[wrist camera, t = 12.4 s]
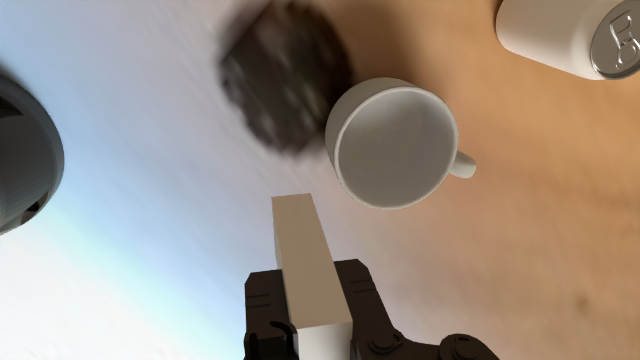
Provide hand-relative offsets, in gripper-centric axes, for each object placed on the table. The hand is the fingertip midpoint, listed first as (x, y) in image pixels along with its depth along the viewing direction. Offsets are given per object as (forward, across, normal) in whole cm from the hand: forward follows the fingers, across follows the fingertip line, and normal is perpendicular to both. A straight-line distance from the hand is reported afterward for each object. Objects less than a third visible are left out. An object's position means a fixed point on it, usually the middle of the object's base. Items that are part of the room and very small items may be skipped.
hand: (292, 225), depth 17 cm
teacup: (+25, -12, +6) cm, 28 cm away
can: (+25, -25, -4) cm, 35 cm away
